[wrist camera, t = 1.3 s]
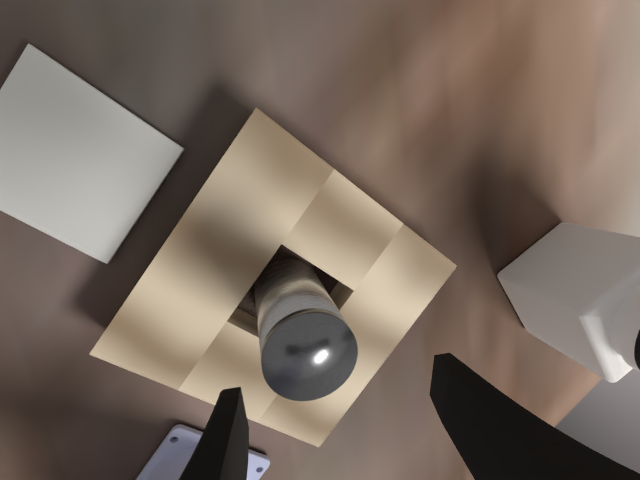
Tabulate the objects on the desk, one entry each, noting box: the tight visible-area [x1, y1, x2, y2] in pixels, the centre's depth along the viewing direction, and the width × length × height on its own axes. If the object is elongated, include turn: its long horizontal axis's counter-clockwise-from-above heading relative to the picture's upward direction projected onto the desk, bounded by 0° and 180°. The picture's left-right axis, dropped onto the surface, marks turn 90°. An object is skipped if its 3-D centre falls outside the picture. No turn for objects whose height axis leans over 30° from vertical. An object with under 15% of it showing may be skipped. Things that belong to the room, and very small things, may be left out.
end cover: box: [254, 258, 358, 401], centre depth 18 cm, size 4×4×8 cm
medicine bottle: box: [497, 222, 640, 383], centre depth 21 cm, size 7×7×12 cm
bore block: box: [89, 107, 457, 447], centre depth 21 cm, size 16×16×2 cm
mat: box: [0, 43, 184, 264], centre depth 17 cm, size 8×8×1 cm
